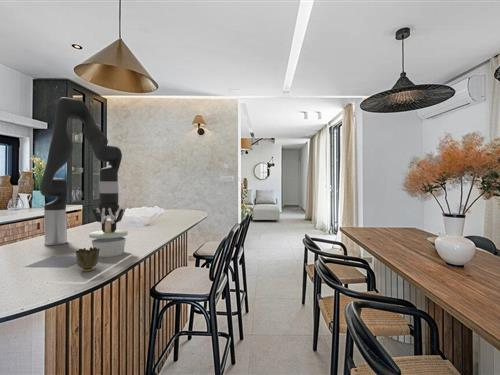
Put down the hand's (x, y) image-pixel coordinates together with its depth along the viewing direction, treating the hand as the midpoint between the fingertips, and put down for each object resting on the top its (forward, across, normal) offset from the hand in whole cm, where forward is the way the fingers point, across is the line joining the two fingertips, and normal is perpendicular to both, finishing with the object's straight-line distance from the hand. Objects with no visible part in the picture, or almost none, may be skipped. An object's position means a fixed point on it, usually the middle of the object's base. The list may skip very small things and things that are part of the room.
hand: (108, 231), depth 130 cm
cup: (+10, -4, +24) cm, 26 cm away
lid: (+2, 0, 0) cm, 2 cm away
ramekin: (+10, 0, 0) cm, 10 cm away
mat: (+10, +13, +13) cm, 21 cm away
